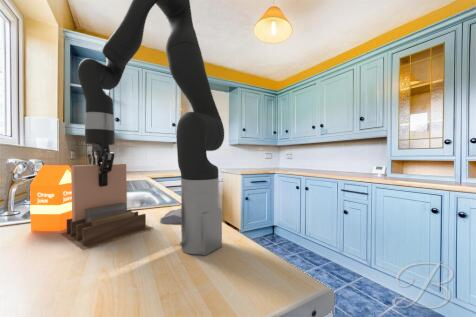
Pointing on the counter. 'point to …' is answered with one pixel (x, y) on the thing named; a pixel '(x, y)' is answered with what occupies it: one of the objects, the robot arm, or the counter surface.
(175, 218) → the stone block
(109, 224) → the rack
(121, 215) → the offcut front
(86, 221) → the bar
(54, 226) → the orange juice
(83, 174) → the tall sheet
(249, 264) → the counter surface
